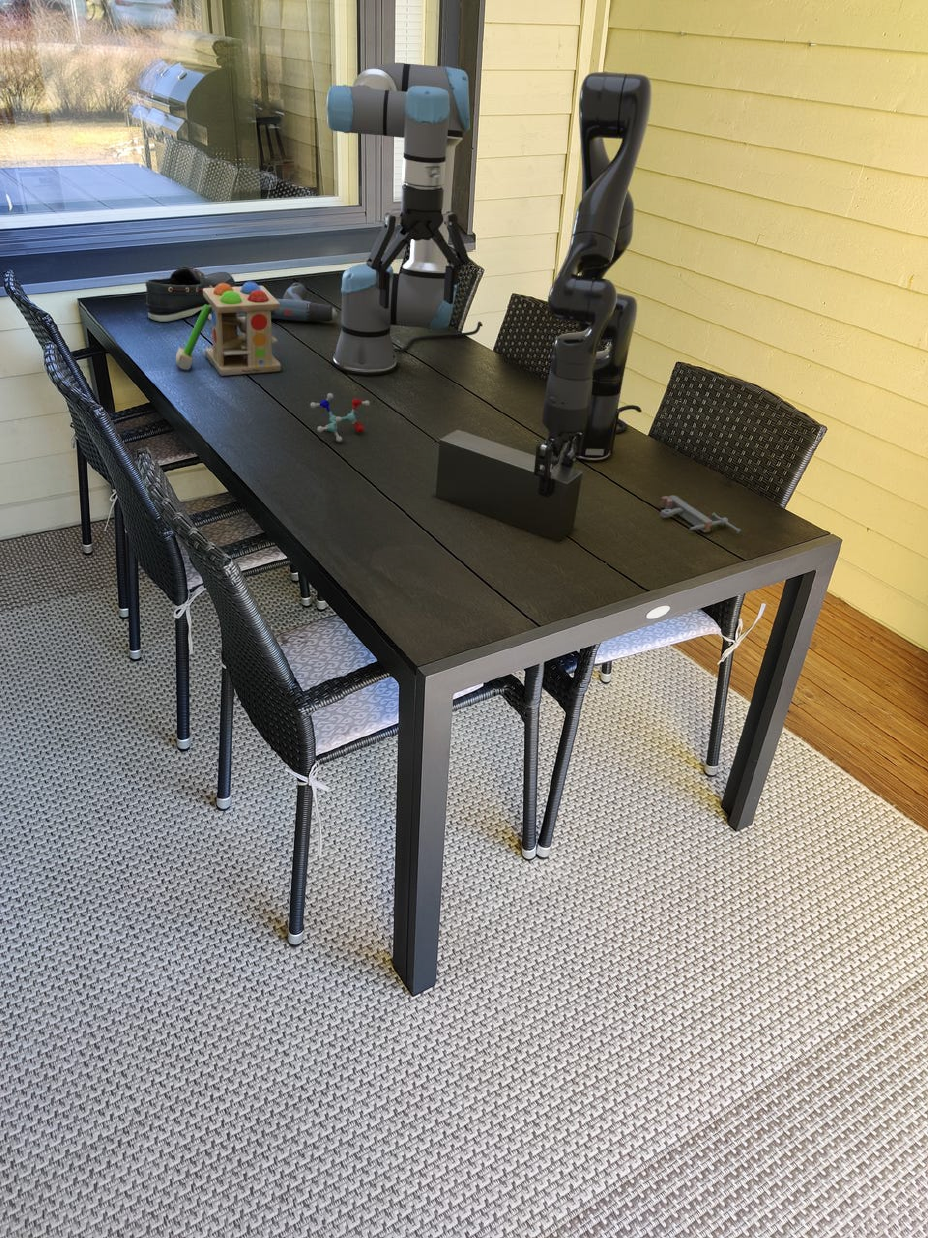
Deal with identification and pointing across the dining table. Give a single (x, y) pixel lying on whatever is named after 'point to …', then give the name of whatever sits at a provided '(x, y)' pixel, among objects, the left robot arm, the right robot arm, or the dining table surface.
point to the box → (506, 485)
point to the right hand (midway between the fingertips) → (554, 488)
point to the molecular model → (335, 420)
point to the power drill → (301, 307)
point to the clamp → (672, 508)
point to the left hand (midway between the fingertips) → (416, 304)
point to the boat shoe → (181, 293)
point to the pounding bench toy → (229, 347)
